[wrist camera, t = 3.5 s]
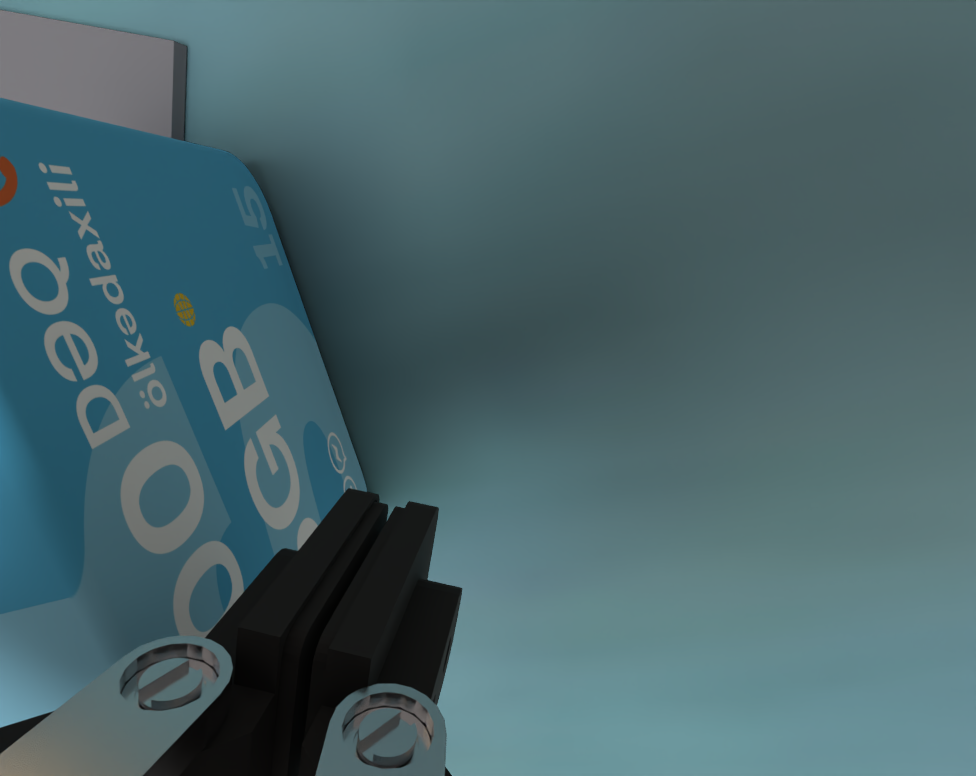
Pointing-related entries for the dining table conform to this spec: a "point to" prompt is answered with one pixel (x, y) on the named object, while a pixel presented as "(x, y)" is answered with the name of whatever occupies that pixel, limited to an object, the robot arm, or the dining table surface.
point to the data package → (143, 398)
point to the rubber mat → (94, 73)
